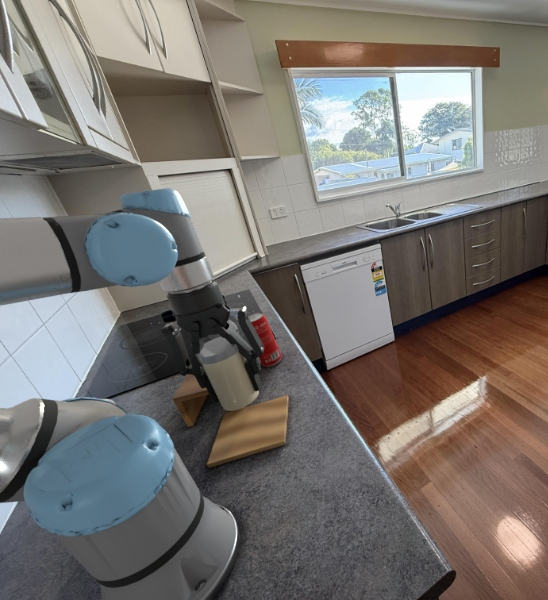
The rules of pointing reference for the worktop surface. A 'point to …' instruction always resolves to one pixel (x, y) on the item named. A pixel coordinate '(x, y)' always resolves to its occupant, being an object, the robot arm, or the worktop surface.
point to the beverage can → (265, 340)
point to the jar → (227, 374)
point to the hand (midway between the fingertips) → (238, 392)
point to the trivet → (250, 431)
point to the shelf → (190, 399)
